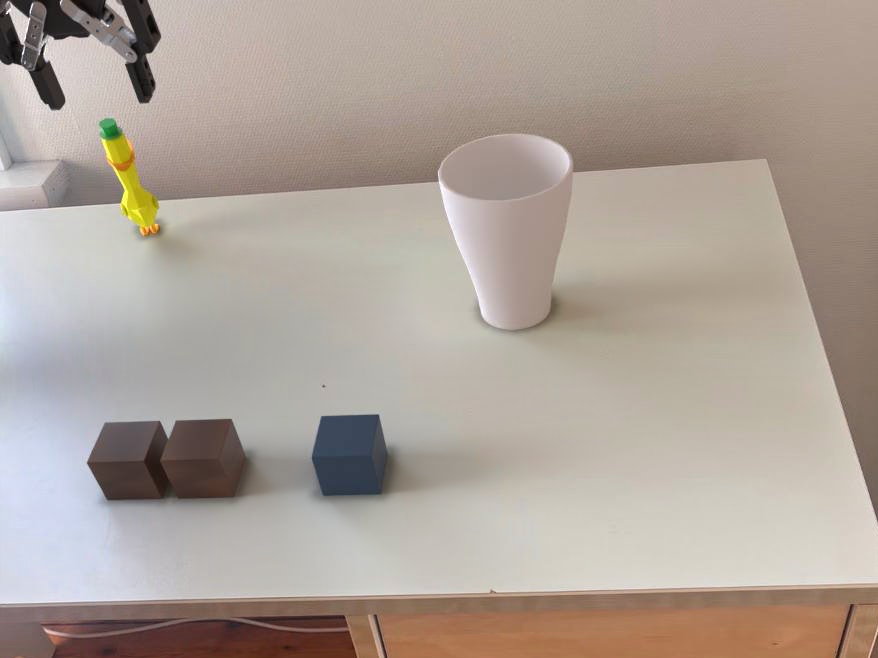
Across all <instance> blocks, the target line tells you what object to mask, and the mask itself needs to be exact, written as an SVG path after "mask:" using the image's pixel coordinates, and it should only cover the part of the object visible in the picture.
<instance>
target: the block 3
mask: <svg viewBox="0 0 878 658" xmlns="http://www.w3.org/2000/svg"><path fill="white" fill-rule="evenodd" d="M388 455H389V453H388V448H387V443H386V439H385V435H384V430H383V426H382V422H381V418H380V414H379V413H375V414H373V413H371V414H342V415H341V414H340V415H321V416H320V418H319V423H318V426H317V431H316V434H315V440H314V443H313V447H312V451H311V456H310V459H311V462H312V466H313V468H314V471H315V474H316V478H317V481H318V485H319V487H320V491H321V494H322V496H323V497H325V496H326V497H328V496H333V497H334V496H375V495H377V496H378V495H379V496H380V495H381V494H382V491H383V484H384V478H385V473H386V468H387V467H386V466H387V460H388Z"/></svg>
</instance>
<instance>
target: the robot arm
mask: <svg viewBox="0 0 878 658" xmlns="http://www.w3.org/2000/svg"><path fill="white" fill-rule="evenodd" d="M115 1H116V3H117V4H118V5H119V6H120V5H121V6H123V10H124V12H125V14H126V17H127V18H128V20H129V21H128V22H129V23H130V25H131V28H132V29H131V28H130V27H129V26H127V24H126V23H125V20H124V18H123V17H122V16H120V14H118V12H116V11H115V10H114V9H113V8H112V7H111V6H110V5H108V4H107V3H106V2H107V0H0V62H1V63H2V64H4V65H6V66H11V65H17V66H21V67H23V68H24V70H27V73H28V74H29V76H30V78H31V81H32V83H33V85H34V87H35V90H36V92H37V94H38V96H39V98H40V100H41V101H42V102H43V104H44V105H48V108H49V109H50V110H51V111H61V110H62V109H63V107H64V106H65V105H66V102H67V101H66V96H65V94H64V92H63V91H64V90H63V89H62V87H61V84H60V82H59V79H58V77H57V75H56V73H55V70H54V67H53V65H52V63H51V60H50V59H47V60H46V59H45V54H46V50H47V48H48V47H47V46H48V44H49V43H48V42H49V39H50V38H53V40H54V41H61V40H65V39H68V38H69V37H72V38H78V39H85V38H89V37H90V35H92V36H93V37H94V38H95V39H97V40H98V41H99V42H100V43H101V44H102V45H104V46H106V47H107V46H108V47H110V48H111V49H113V50H114V51H115V52H116V53H117V54H118V55H119V56H120V57H121V58H123V59H124V61H126V62H125V63H124V66H125V68H126V69H125V70H126V72H127V74H128V78H129V79H130V83H131V85H132V88H133V90H134V93H135V96H136V98H137V102H138V103H139V104H140V105H143V104H149V103H150V101H151V100H152V98H153V96H154V93H155V91H156V88H157V87H156V86H157V85H156V80H155V77H154V74H153V72H152V69H151V65H150V62H149V60H148V57H147V55H149V54H152V53H154V51H155V49H156V48H157V46H158V44H159V42H160V41H161V39H162V34H161V31H160V28H159V25H158V23H157V21H156V18H155V15H154V13H153V10H152V8H151V6H150V5H151V4H150V2H149V0H115ZM11 5H12V6H13V7H14V8H15V9H16V10H18V11H19V12H20V13H21V14H22V15H23V16H24V17H25V18H27V20H28V22H27V27H26V31H25V35H24V40H23V44H22V42H21V39H20V37H19V35H18V32H17V30H16V27H15V24H14V22H13V19H12V16H11V13H10V11H11V8H12V6H11ZM104 23H105V24H104Z"/></svg>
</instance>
